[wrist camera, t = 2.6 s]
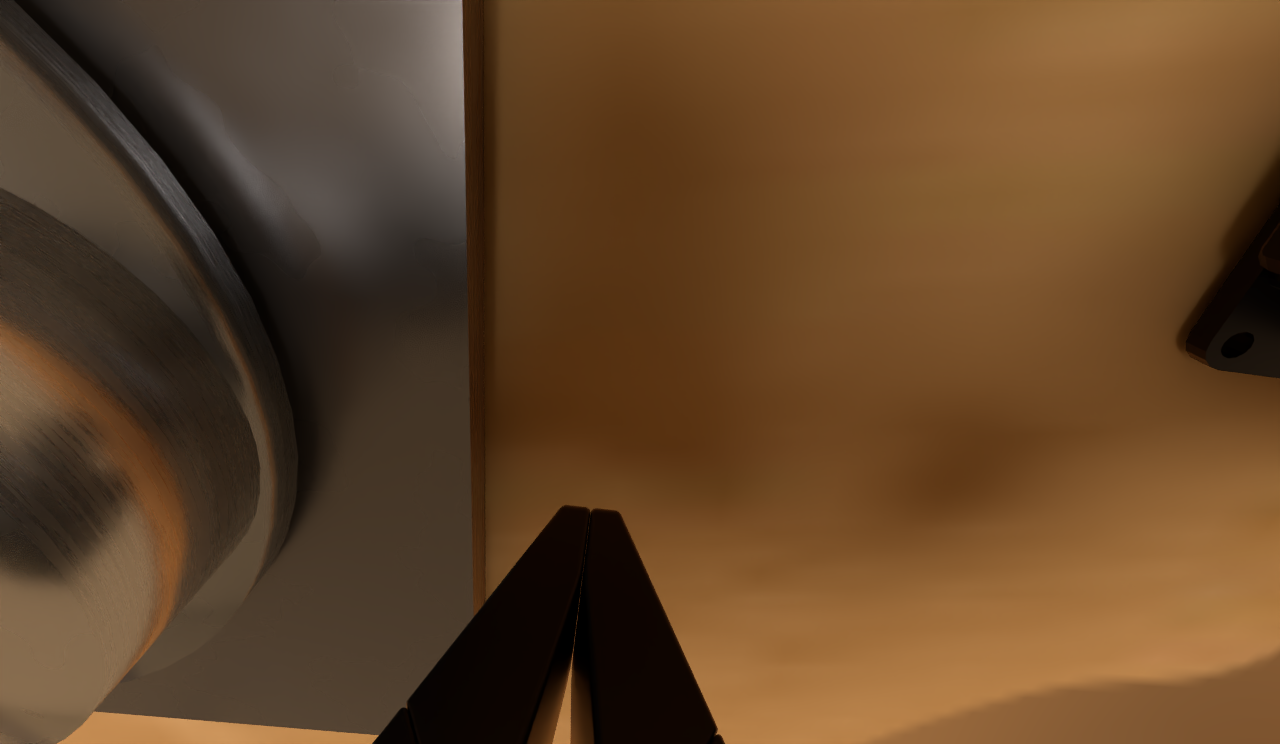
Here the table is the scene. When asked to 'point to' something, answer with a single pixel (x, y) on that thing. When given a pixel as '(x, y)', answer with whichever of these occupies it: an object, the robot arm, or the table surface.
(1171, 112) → the table surface
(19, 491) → the cover
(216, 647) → the base plate
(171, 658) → the turntable
